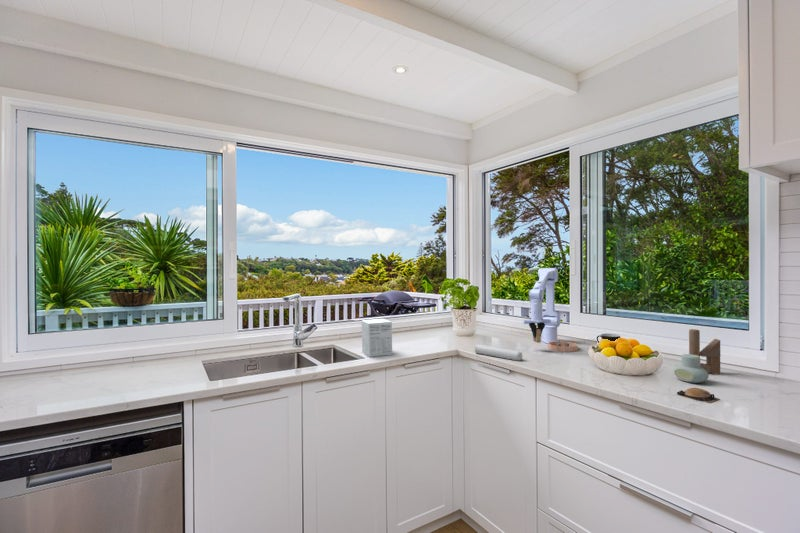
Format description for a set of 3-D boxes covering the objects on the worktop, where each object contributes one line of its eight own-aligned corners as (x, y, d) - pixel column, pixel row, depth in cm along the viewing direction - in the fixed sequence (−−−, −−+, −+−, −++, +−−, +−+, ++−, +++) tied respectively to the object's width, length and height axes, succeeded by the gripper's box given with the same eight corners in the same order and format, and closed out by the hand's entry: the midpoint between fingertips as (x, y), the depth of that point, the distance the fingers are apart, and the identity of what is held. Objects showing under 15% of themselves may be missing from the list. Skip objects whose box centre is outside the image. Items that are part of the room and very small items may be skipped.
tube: (525, 351, 192) (481, 344, 209) (520, 350, 188) (475, 342, 205) (523, 362, 190) (479, 354, 208) (518, 361, 187) (473, 353, 204)
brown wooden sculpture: (720, 374, 162) (720, 330, 162) (691, 373, 164) (691, 330, 164) (715, 371, 166) (715, 329, 166) (687, 371, 168) (686, 329, 168)
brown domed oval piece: (721, 401, 134) (721, 390, 134) (708, 405, 130) (708, 394, 130) (687, 392, 143) (687, 382, 143) (673, 395, 139) (673, 385, 139)
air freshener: (669, 378, 158) (669, 353, 158) (683, 376, 161) (683, 351, 161) (698, 386, 148) (698, 359, 147) (713, 383, 151) (712, 357, 150)
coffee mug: (624, 356, 194) (623, 336, 194) (606, 356, 194) (606, 336, 194) (611, 351, 206) (611, 332, 205) (595, 351, 206) (595, 332, 206)
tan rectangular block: (533, 340, 211) (533, 327, 211) (537, 340, 211) (536, 327, 211) (537, 342, 206) (536, 329, 206) (540, 342, 206) (540, 329, 206)
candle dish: (543, 346, 221) (543, 340, 221) (569, 345, 222) (569, 340, 222) (555, 352, 206) (555, 346, 206) (583, 351, 207) (583, 345, 207)
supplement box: (393, 354, 206) (392, 321, 206) (368, 357, 201) (368, 323, 201) (384, 349, 218) (384, 318, 218) (361, 352, 213) (361, 320, 213)
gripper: (526, 312, 204) (526, 338, 204) (553, 312, 205) (553, 338, 205) (521, 311, 211) (521, 336, 211) (547, 310, 212) (547, 335, 212)
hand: (536, 337), depth 209 cm, fingers closed on tan rectangular block, 2 cm apart
